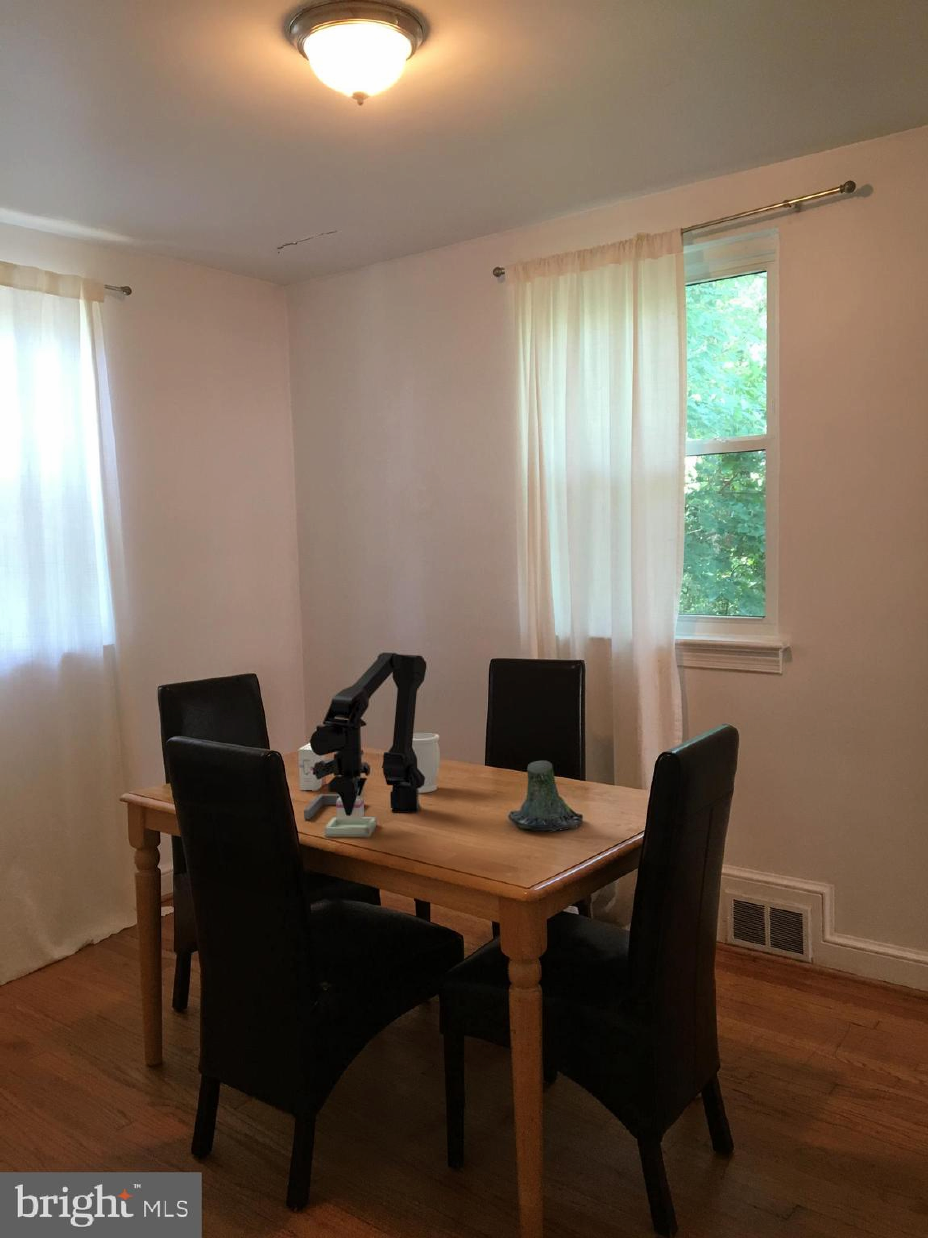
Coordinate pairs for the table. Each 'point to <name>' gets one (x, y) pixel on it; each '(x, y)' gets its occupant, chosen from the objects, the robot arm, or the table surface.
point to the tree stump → (544, 802)
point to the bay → (320, 804)
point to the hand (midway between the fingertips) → (350, 812)
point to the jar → (427, 759)
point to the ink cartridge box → (309, 769)
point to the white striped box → (356, 813)
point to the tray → (350, 827)
